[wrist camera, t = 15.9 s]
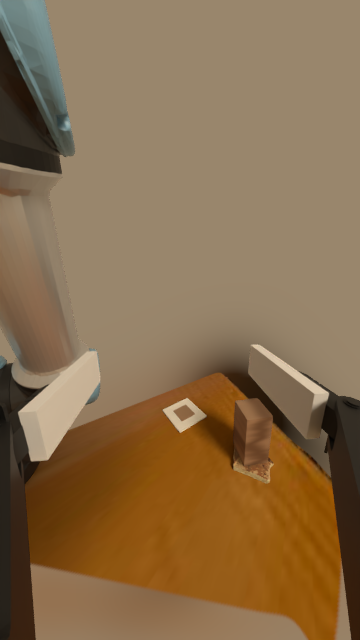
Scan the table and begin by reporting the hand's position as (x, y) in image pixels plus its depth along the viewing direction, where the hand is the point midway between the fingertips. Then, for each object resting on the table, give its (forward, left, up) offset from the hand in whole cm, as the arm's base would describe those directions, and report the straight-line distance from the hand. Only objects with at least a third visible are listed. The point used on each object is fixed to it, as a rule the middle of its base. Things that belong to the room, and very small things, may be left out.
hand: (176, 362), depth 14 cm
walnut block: (-5, +21, -29) cm, 36 cm away
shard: (-5, +20, -31) cm, 37 cm away
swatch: (-22, +16, -30) cm, 41 cm away
